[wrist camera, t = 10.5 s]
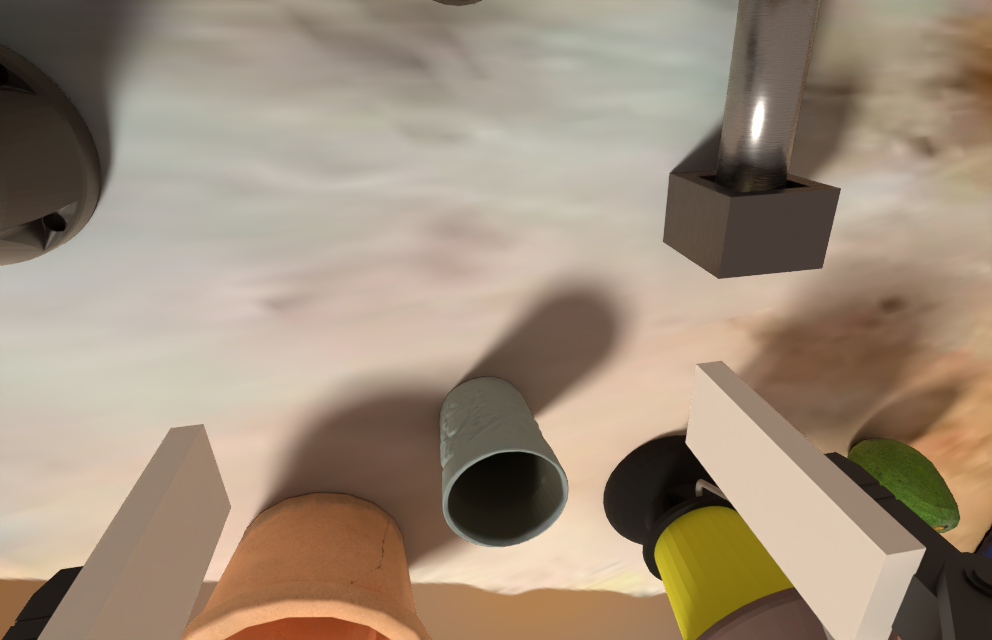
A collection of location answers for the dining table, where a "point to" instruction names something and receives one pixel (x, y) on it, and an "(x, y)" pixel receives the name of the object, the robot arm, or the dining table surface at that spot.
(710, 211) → the sleeve
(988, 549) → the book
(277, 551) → the pottery
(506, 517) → the grey green textured cup
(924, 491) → the fruit
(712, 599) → the lantern
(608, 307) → the dining table surface
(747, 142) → the tube
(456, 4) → the mug
